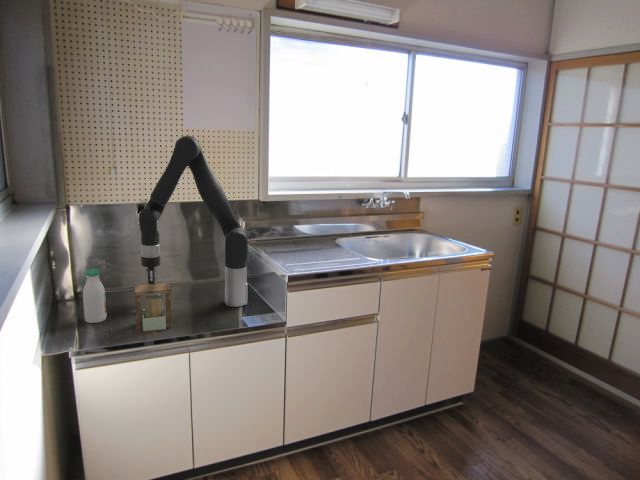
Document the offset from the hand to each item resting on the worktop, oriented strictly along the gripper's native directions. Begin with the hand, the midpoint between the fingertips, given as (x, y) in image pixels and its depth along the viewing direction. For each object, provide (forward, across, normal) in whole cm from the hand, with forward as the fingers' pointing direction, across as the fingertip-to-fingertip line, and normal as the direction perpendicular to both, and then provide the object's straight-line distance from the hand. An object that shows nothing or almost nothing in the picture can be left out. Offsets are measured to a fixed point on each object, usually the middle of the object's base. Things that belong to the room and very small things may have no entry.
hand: (151, 293), depth 194 cm
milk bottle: (+5, -11, +21) cm, 24 cm away
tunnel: (+5, -22, 0) cm, 22 cm away
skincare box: (+5, -22, 0) cm, 22 cm away
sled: (+4, -16, 0) cm, 17 cm away
